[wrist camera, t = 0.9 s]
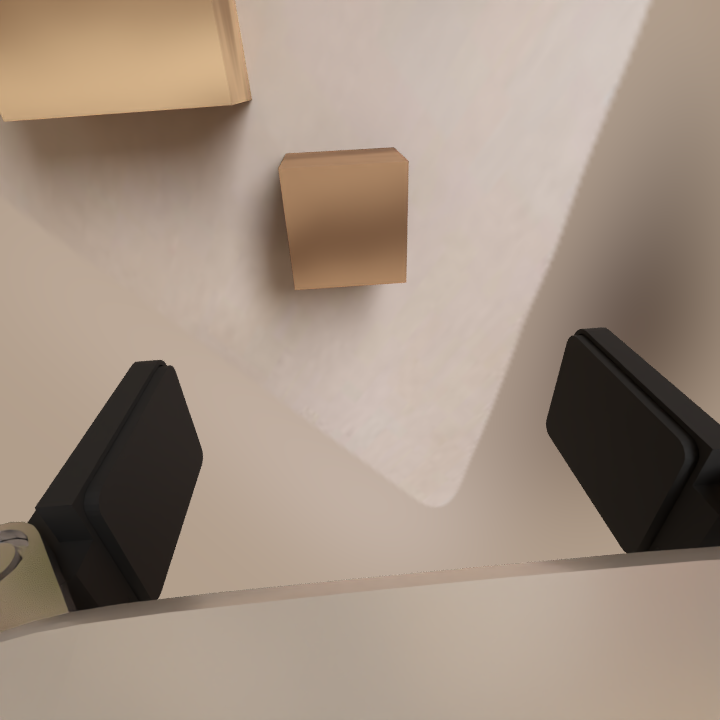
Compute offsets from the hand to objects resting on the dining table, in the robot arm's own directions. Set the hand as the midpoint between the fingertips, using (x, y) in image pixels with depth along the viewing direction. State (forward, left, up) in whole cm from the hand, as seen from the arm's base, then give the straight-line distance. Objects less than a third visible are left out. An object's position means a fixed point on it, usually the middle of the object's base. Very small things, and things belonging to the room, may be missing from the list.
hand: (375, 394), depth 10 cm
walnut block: (0, 0, -18) cm, 18 cm away
